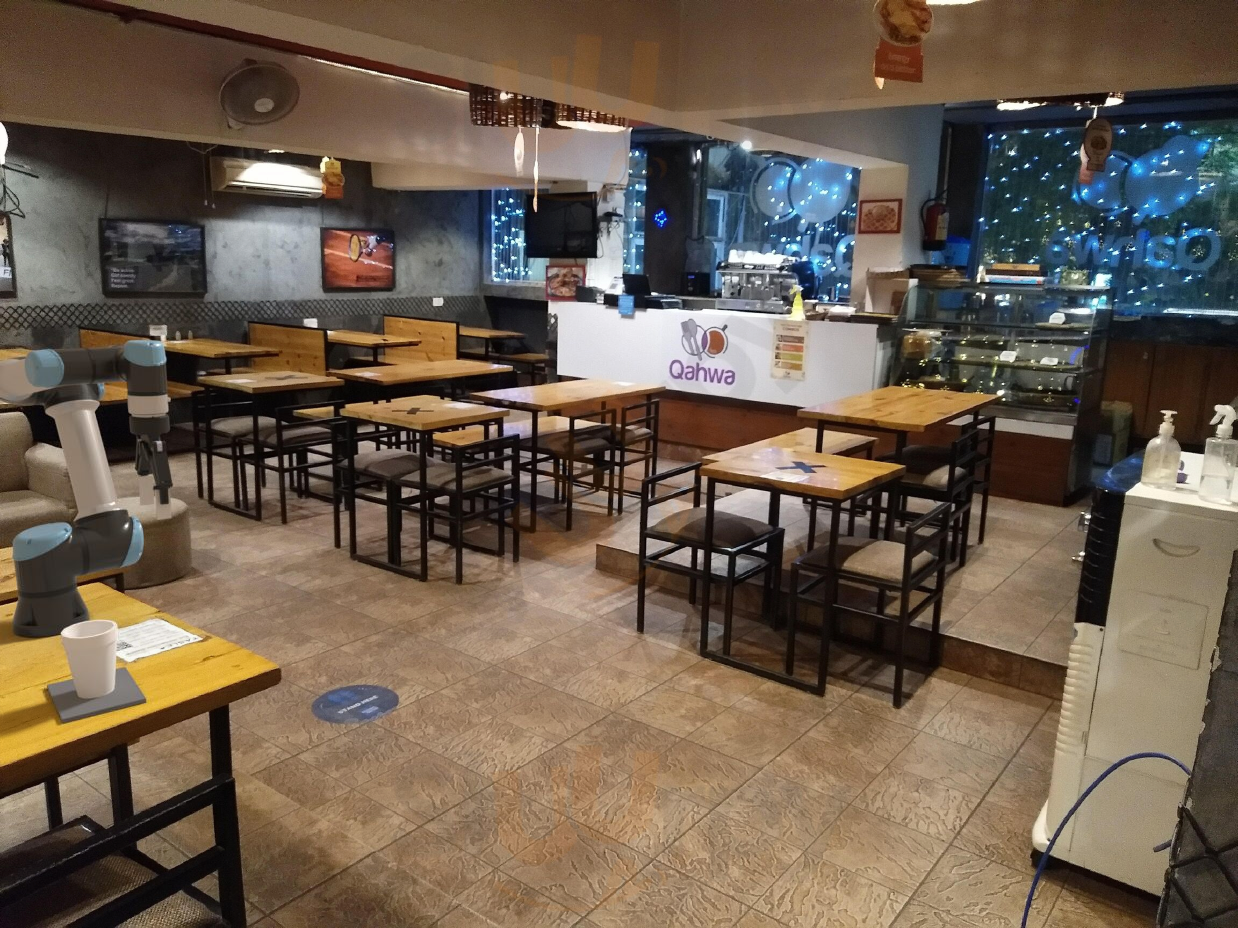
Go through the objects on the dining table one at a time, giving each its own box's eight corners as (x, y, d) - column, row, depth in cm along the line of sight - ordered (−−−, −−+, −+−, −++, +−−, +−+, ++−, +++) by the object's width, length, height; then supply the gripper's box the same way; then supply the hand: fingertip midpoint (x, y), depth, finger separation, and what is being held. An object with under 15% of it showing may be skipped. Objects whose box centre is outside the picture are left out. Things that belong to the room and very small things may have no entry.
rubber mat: (47, 688, 179) (46, 684, 179) (125, 670, 188) (125, 666, 188) (62, 723, 166) (62, 719, 166) (146, 701, 175) (146, 698, 174)
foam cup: (98, 704, 171) (91, 640, 169) (56, 699, 173) (49, 635, 171) (133, 683, 181) (128, 622, 178) (93, 678, 182) (87, 617, 180)
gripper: (185, 421, 183) (191, 522, 188) (152, 405, 202) (158, 496, 206) (144, 424, 179) (151, 527, 183) (115, 407, 197) (122, 501, 202)
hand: (155, 511), depth 195 cm, fingers open, 13 cm apart
